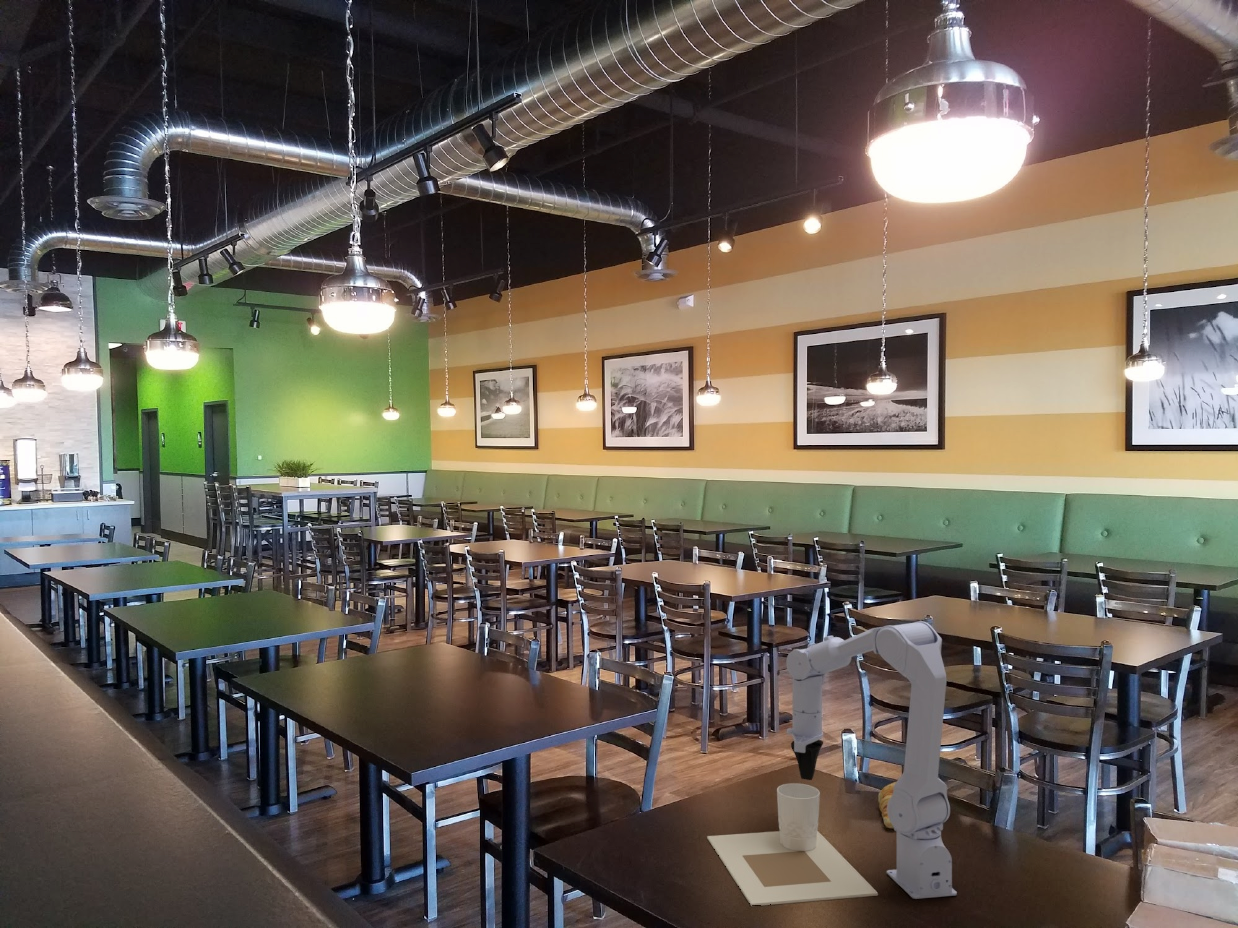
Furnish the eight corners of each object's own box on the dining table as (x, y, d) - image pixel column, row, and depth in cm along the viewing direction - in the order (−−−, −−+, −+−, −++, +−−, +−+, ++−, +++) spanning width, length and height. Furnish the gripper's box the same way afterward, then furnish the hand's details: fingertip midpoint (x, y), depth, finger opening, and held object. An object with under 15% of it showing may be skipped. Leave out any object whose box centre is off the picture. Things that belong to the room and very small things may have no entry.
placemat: (877, 895, 141) (877, 892, 141) (751, 906, 137) (751, 903, 137) (815, 830, 167) (815, 828, 167) (707, 838, 163) (707, 836, 163)
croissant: (903, 854, 165) (923, 822, 162) (857, 819, 169) (876, 788, 167) (930, 815, 182) (948, 786, 180) (888, 784, 187) (905, 756, 185)
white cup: (820, 854, 155) (820, 799, 155) (776, 850, 157) (776, 796, 157) (818, 836, 163) (819, 784, 163) (777, 833, 164) (777, 781, 164)
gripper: (795, 698, 176) (794, 763, 176) (778, 716, 163) (778, 787, 163) (829, 702, 173) (829, 768, 173) (815, 720, 160) (815, 793, 160)
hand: (807, 778), depth 168 cm, fingers closed
